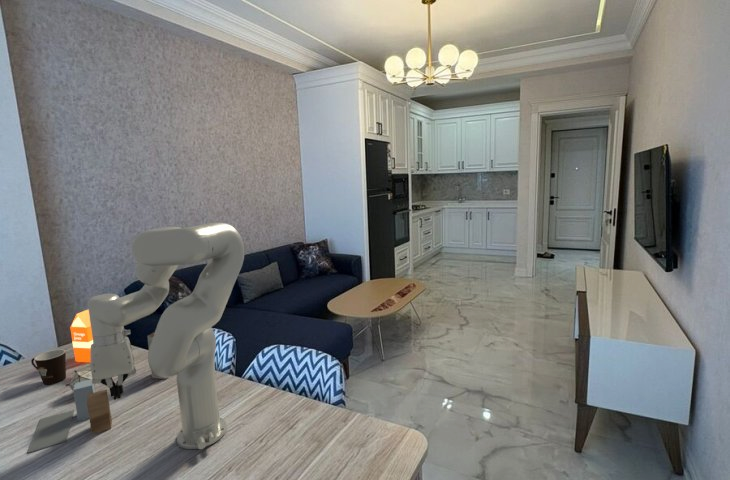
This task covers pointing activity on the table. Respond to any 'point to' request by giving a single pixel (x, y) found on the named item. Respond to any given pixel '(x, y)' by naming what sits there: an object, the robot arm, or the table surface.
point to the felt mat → (51, 431)
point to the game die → (80, 378)
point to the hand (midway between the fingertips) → (117, 397)
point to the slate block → (82, 397)
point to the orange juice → (82, 336)
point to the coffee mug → (51, 366)
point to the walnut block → (99, 411)
